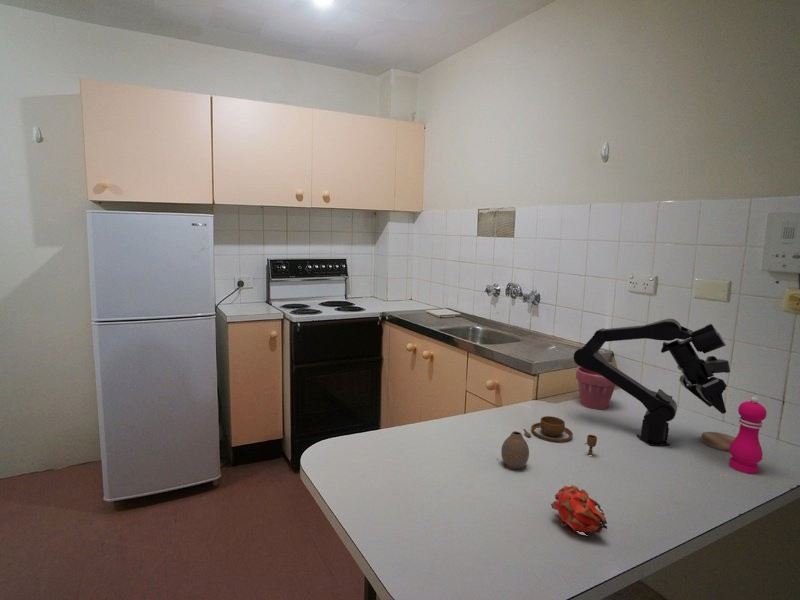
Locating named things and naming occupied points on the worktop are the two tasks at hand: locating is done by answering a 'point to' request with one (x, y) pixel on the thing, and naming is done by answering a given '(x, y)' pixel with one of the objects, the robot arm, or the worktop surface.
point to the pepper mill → (748, 437)
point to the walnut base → (717, 440)
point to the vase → (515, 451)
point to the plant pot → (594, 389)
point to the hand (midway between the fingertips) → (717, 409)
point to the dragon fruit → (578, 510)
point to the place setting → (557, 431)
